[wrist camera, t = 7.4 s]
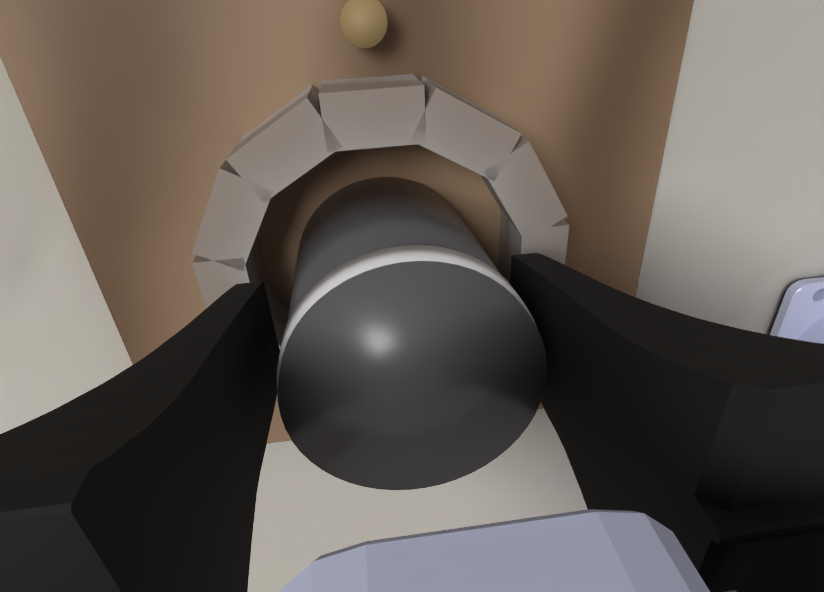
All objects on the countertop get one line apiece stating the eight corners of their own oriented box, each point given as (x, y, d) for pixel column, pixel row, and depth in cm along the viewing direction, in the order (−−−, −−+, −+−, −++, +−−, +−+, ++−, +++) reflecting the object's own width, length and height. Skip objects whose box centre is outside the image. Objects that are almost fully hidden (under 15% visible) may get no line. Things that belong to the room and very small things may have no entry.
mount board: (685, -59, 12) (770, -75, 10) (604, 385, 19) (642, 439, 17) (-9, -18, 11) (-108, -24, 9) (178, 438, 18) (153, 504, 16)
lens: (469, 164, 14) (557, 248, 8) (473, 324, 16) (543, 468, 11) (279, 186, 13) (243, 290, 8) (312, 348, 15) (303, 509, 10)
